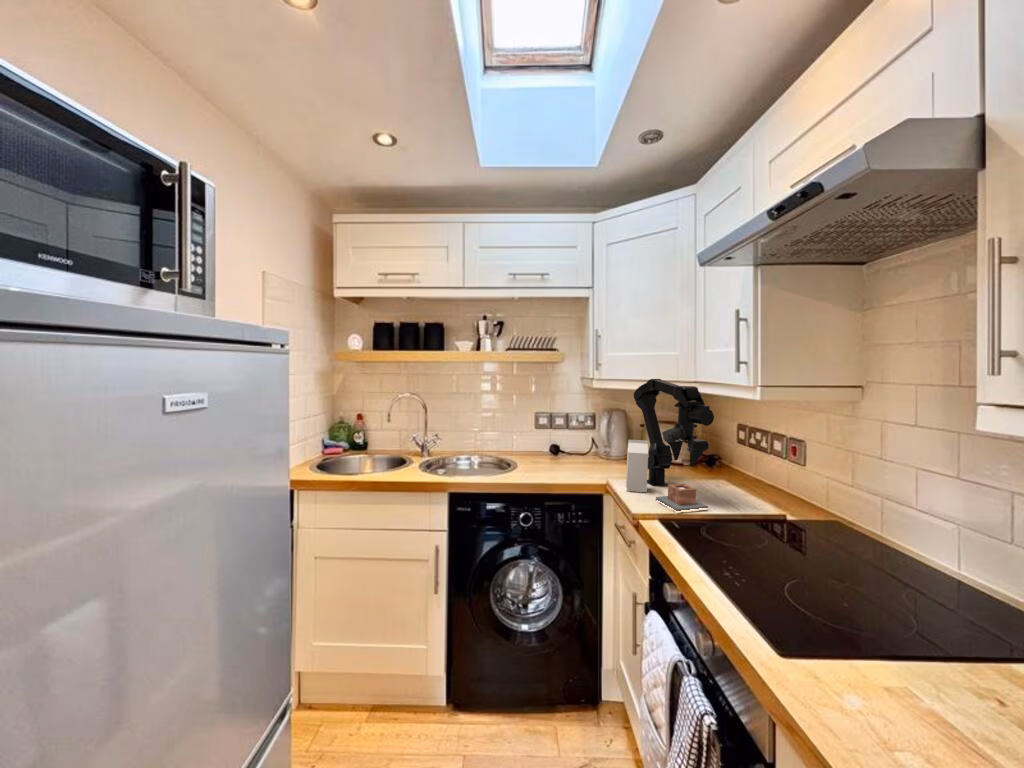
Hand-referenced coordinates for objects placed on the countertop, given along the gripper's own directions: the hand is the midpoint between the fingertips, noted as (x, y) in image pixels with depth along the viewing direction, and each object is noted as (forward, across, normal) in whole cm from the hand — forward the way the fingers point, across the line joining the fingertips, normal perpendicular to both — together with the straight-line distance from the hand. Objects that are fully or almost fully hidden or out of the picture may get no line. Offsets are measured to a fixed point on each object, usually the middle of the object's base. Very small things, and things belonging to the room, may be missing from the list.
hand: (683, 463), depth 167 cm
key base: (+12, +9, -7) cm, 17 cm away
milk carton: (+12, -10, -13) cm, 20 cm away
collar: (+10, +9, -7) cm, 15 cm away
